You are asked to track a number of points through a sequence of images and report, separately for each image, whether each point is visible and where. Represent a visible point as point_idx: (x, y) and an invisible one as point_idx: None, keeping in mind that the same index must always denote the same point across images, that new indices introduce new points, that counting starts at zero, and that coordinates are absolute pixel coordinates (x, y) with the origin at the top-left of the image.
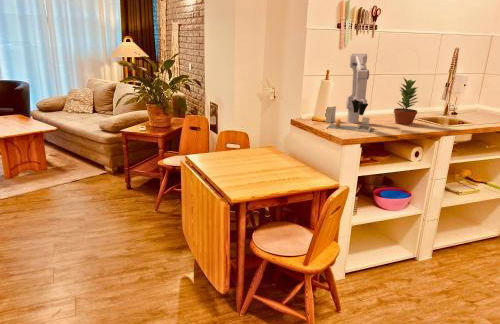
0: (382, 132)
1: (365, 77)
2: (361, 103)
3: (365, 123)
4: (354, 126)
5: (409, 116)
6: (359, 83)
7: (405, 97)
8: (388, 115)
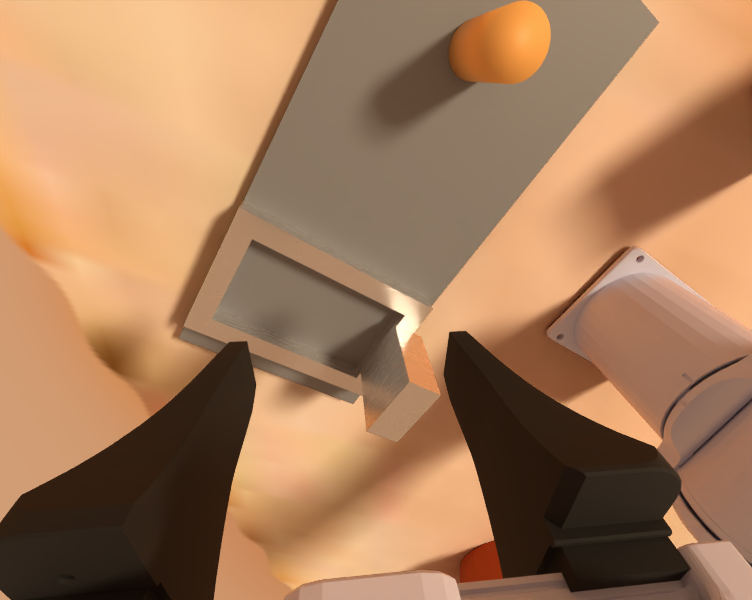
0: (270, 414)
1: None
2: (40, 583)
3: (378, 366)
4: (450, 270)
5: None
6: None
7: None
8: None
